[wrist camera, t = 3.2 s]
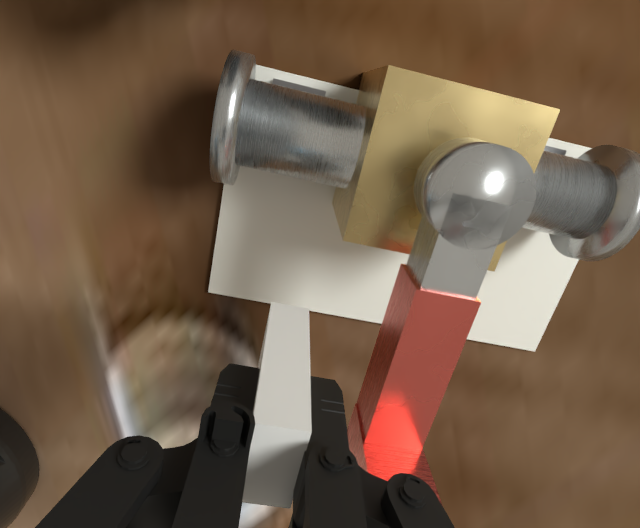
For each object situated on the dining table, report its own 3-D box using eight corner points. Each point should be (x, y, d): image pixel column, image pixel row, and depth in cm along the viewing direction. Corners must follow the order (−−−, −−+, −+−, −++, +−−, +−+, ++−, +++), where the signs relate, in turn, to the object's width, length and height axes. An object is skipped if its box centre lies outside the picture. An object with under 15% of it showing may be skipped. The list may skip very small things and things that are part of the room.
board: (209, 289, 30) (207, 292, 30) (242, 61, 25) (241, 61, 25) (532, 348, 33) (534, 351, 33) (623, 156, 28) (627, 157, 28)
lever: (429, 127, 18) (492, 144, 12) (519, 149, 18) (620, 175, 12) (332, 443, 24) (343, 555, 18) (401, 453, 24) (433, 565, 18)
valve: (225, 179, 28) (190, 220, 19) (245, 42, 25) (215, 15, 16) (538, 246, 30) (636, 309, 21) (589, 130, 27) (726, 148, 19)
